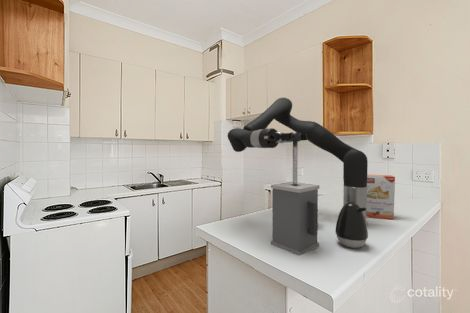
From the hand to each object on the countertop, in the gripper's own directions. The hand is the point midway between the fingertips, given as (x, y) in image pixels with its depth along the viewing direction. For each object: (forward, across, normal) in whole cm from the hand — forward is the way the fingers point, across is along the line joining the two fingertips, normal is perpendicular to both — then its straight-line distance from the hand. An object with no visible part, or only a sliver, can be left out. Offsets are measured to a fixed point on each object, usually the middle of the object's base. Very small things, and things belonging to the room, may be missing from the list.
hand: (299, 136), depth 79 cm
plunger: (-2, 0, +27) cm, 27 cm away
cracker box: (+4, +59, +38) cm, 70 cm away
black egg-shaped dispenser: (+11, +15, +38) cm, 43 cm away
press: (-1, 0, +38) cm, 38 cm away
